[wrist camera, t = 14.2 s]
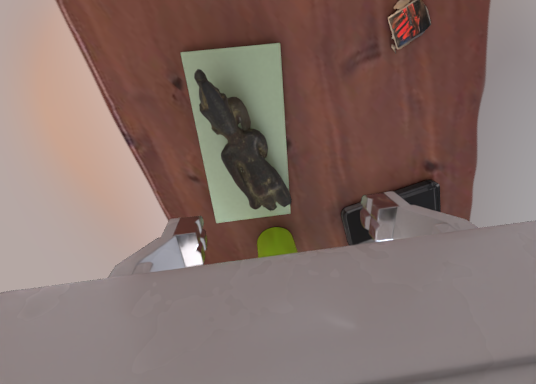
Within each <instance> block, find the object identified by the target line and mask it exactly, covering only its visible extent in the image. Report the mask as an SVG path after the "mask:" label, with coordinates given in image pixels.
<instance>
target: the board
mask: <svg viewBox="0 0 536 384" xmlns="http://www.w3.org/2000/svg"><path fill="white" fill-rule="evenodd" d="M181 58H182V63H183V67H184V72H185V77H186V82H187V86H188V91H189V96H190V101H191V105H192V110H193V115H194V120H195V124H196V129H197V134H198V139H199V143H200V148H201V153H202V158H203V162H204V167H205V172H206V177H207V181H208V186H209V191H210V196H211V200H212V205H213V210H214V215H215V219H216V223H221V222H229V221H236V220H244V219H252V218H260V217H268V216H275V215H283V214H290V213H291V212H290V204H289V205H287V206H285V207H283V206H281V205H279V204H278V203H277V202H276V206H277V208H276V209H275V210H273V211H272V210H271V212H270V210H268V209H266V208H265V207H263V206H261V207H260V208H259V209H256V210H255V209H252V208H251V207H250V205H249V200H248V198H247V197H246V195H245V194H244V193H243V192H242V191H241V190H240V188H239V187H238V186H237V185H236V183H235V182H234V180H233V178H232V176H231V175H230V173H229V172H228V170H227V168H226V167H225V165H224V163H223V161H222V159H221V152H222V150H223V149H224V147H225V145H226V144H227V143H228V140H227V139H226V138H225V137H224V136H223V135H217V134H216V133H215V132H214V131H213V130H212V129H211V127H212V126H211V123H210V122H209V121H208V120H207V119H206V118H205V117H204V116H203V115H202V113H201V112H200V107H199V104H200V103H201V102H200V99H199V86H198V84H197V82H196V81H195V79H194V74H195V72H196V71H197V69H200V70H202V71H203V72H204V73H205V75H206V78H207V80H208V81H209V82H211V83H212V84H213V85H214V86H215V87H216V88H218V89H219V91H220V93H224V94H225V95H226V97H227V98H230V97H237V98H239V99H240V100H242V102H243V103H244V105H245V107H246V108H247V111H248V114H249V117H250V120H251V128H252V129H256V130H258V131H260V132H261V133H262V134H263V135H264V136H265V138H266V141H267V146H268V153H267V157H266V158H265V160H266V161H267V162H268V163H269V164H270V165H271V166H272V167H274V168H275V169H276V170H277V172H278V173H279V175H280V176H281V178H282V180H283V181H284V183H285V185H286V187H287V188H288V190H289V180H288V163H287V147H286V131H285V114H284V98H283V82H282V66H281V49H280V43H273V44H262V45H252V46H242V47H231V48H221V49H210V50H200V51H190V52H181ZM238 127H239V128H241V129H242V127H241V123H239V124H238ZM240 169H241V168H240ZM243 172H244V171H243Z"/></svg>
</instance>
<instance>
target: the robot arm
mask: <svg viewBox="0 0 536 384" xmlns="http://www.w3.org/2000/svg"><path fill="white" fill-rule="evenodd" d="M361 204H362V205H363V208H362V209H361V211H360V219H361V223H362V225H363V227H364V228H365V229H367V230H369V234H370V236H371V237H372V238H373V240H374V241H375V242H372V243H365V244H357V245H350V246H342V247H335V248H328V249H320V250H313V251H305V252H298V253H290V254H283V255H275V256H268V257H261V258H253V259H246V260H238V261H231V262H223V263H216V264H208V265H204V260H205V250H206V249H207V235H206V231H205V230H204V229H203V225H204V222H203V218H202V216H193V217H184V218H175V219H170V220H169V221H168V224H167V226H166V228H165V230H164V232H163V234H162V236H161V237H160V238H157V239H155V240H154V241H152V242H151V243H149V244H148V245H146V246H145V247H143V248H142V249H140V250H139V251H137V252H136V253H134V254H132V255H131V256H129V257H128V258H126V259H125V260H123V261H122V262H120V263H119V264H117V265H116V266H115V267H114V269H113V270H112V272H111V273H110V275H109V277H108V278H106V279H97V280H90V281H83V282H75V283H67V284H61V285H53V286H46V287H38V288H31V289H21V290H13V291H6V292H1V293H0V384H536V221H528V222H521V223H513V224H506V225H499V226H491V227H484V228H478V227H476V226H475V225H473V224H472V223H471V222H469V221H468V220H466V219H462V218H459V217H455V216H452V215H448V214H445V213H441V212H437V211H434V210H430V209H427V208H423V207H420V206H416V205H410V204H409V203H407V202H406V201H405V200H404V199H402V198H401V197H400V196H399V195H397V194H396V193H395V192H393V191H389V192H384V193H376V194H369V195H364V196H362V198H361ZM385 240H387V241H385ZM376 241H379V242H376ZM198 265H201V266H198ZM192 266H194V267H192Z"/></svg>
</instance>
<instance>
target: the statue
mask: <svg viewBox="0 0 536 384" xmlns="http://www.w3.org/2000/svg"><path fill="white" fill-rule="evenodd" d="M194 79H195V81H196V82H197V84H198V86H199V99H200V102H201V103H200V104H199V107H200V112H201V113H202V115H203V116H204V117H205V118H206V119H207V120H208V121H209V122H210V123H211V126H212V127H211V129H212V130H213V131H214V132H215V133H216V134H217V135H223V136H224V137H225V138H226V139H227V140H228V143H227V144H226V145H225V147H224V149H223V150H222V152H221V159H222V161H223V163H224V165H225V167H226V168H227V170H228V172H229V173H230V175H231V176H232V178H233V180H234V182H235V183H236V185H237V186H238V187H239V188H240V190H241V191H242V192H243V193H244V194H245V195H246V197H247V198H248V200H249V205H250V207H251V208H252V209H255V210H256V209H259V208H260V207H261V206H263V207H265V208H266V209H268V210H270V212H271V210H272V211H273V210H275V209H276V208H277V206H276V202H277V203H278V204H279V205H281V206H283V207H285V206H287V205H289V204H291V200H292V199H291V196H290V193H289V190H288V188H287V187H286V185H285V183H284V181H283V180H282V178H281V176H280V175H279V173H278V172H277V170H276V169H275V168H274V167H272V166H271V165H270V164H269V163H268V162H267V161H266V160H265V158H266V157H267V153H268V146H267V141H266V138H265V136H264V135H263V134H262V133H261V132H260V131H258V130H256V129H252V128H251V120H250V117H249V114H248V111H247V108H246V107H245V105H244V103H243V102H242V100H240V99H239V98H237V97H230V98H227V97H226V95H225V94H224V93H220V91H219V89H218V88H216V87H215V86H214V85H213V84H212V83H211V82H209V81H208V80H207V78H206V75H205V73H204V72H203V71H202V70H200V69H197V71H196V72H195V74H194ZM239 123H241V127H242V129H241V128H239V127H238V124H239ZM240 168H241V169H240ZM243 171H244V172H243Z"/></svg>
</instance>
